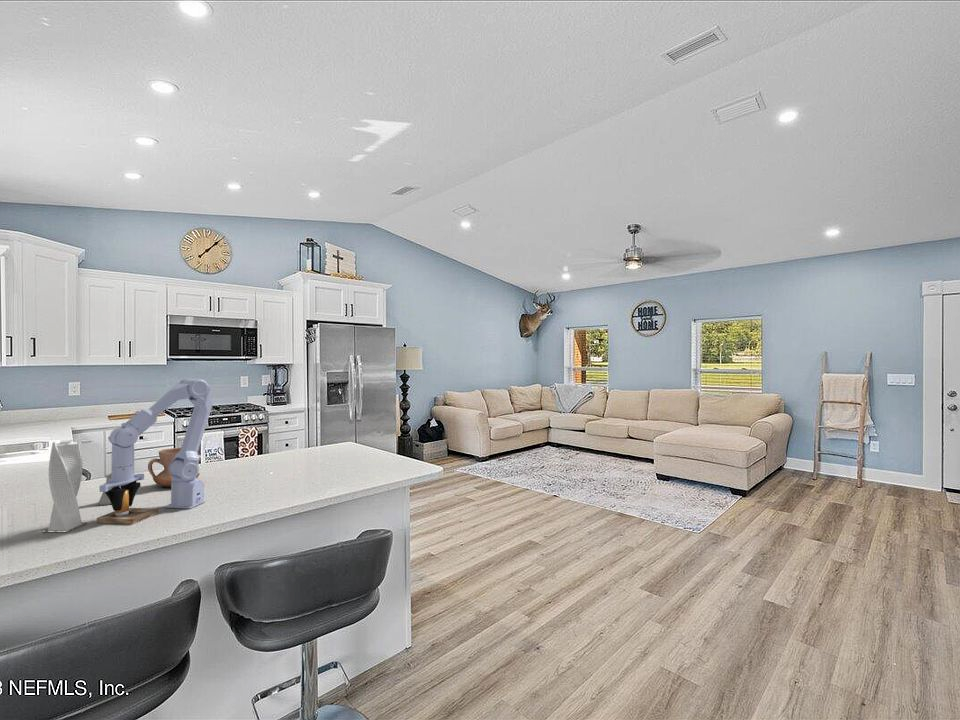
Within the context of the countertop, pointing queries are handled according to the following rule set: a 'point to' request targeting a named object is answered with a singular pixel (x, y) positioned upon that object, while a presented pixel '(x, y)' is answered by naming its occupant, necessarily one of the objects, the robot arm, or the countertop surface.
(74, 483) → the skyscraper
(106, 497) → the flask
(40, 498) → the countertop surface
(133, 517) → the wooden tray
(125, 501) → the orange upright cylinder
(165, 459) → the ceramic jug
